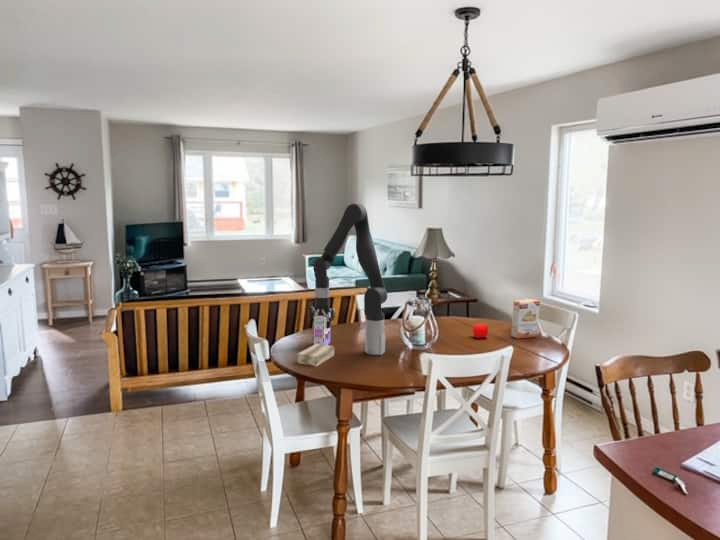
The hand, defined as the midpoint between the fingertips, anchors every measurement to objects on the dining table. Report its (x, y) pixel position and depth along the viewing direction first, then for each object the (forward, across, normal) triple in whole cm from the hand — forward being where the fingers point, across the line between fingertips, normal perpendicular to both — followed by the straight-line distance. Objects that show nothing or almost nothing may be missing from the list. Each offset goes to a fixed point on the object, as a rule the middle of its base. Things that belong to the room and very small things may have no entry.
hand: (322, 327), depth 267 cm
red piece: (+10, -74, -50) cm, 90 cm away
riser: (+10, -7, +21) cm, 24 cm away
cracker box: (+10, -97, -62) cm, 116 cm away
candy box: (+10, 0, 0) cm, 10 cm away
